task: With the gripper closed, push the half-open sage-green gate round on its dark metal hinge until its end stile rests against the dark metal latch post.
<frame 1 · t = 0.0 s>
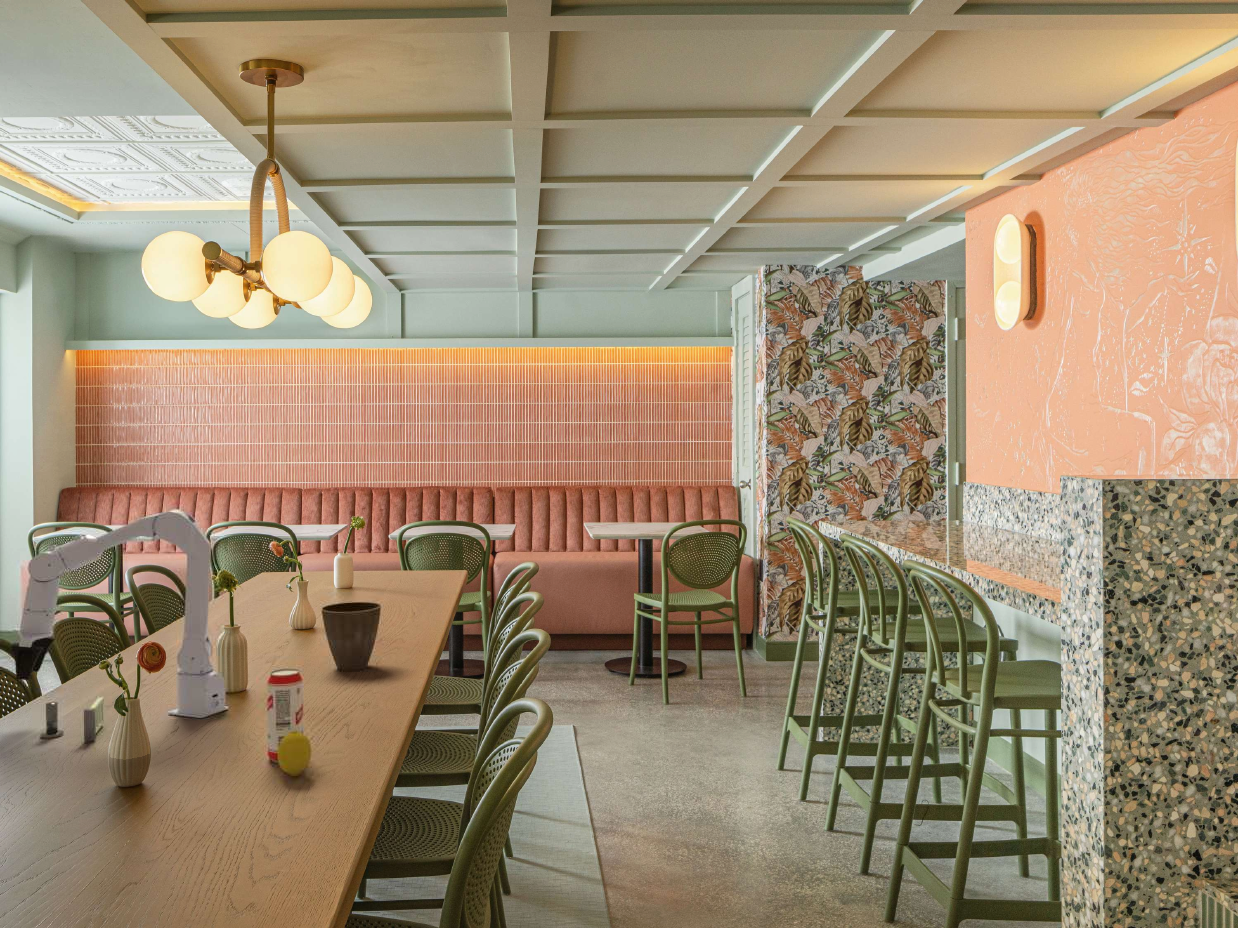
hand: (27, 674, 196), 11 cm above the table, tool pointing down, fingers open, 7 cm apart
beer can: (285, 759, 175), on the table
gate: (95, 717, 190), point 3 cm above the table, hinge at 40.0°
plant pot: (352, 668, 247), on the table
latch post: (52, 735, 189), on the table
lemon: (294, 777, 165), on the table
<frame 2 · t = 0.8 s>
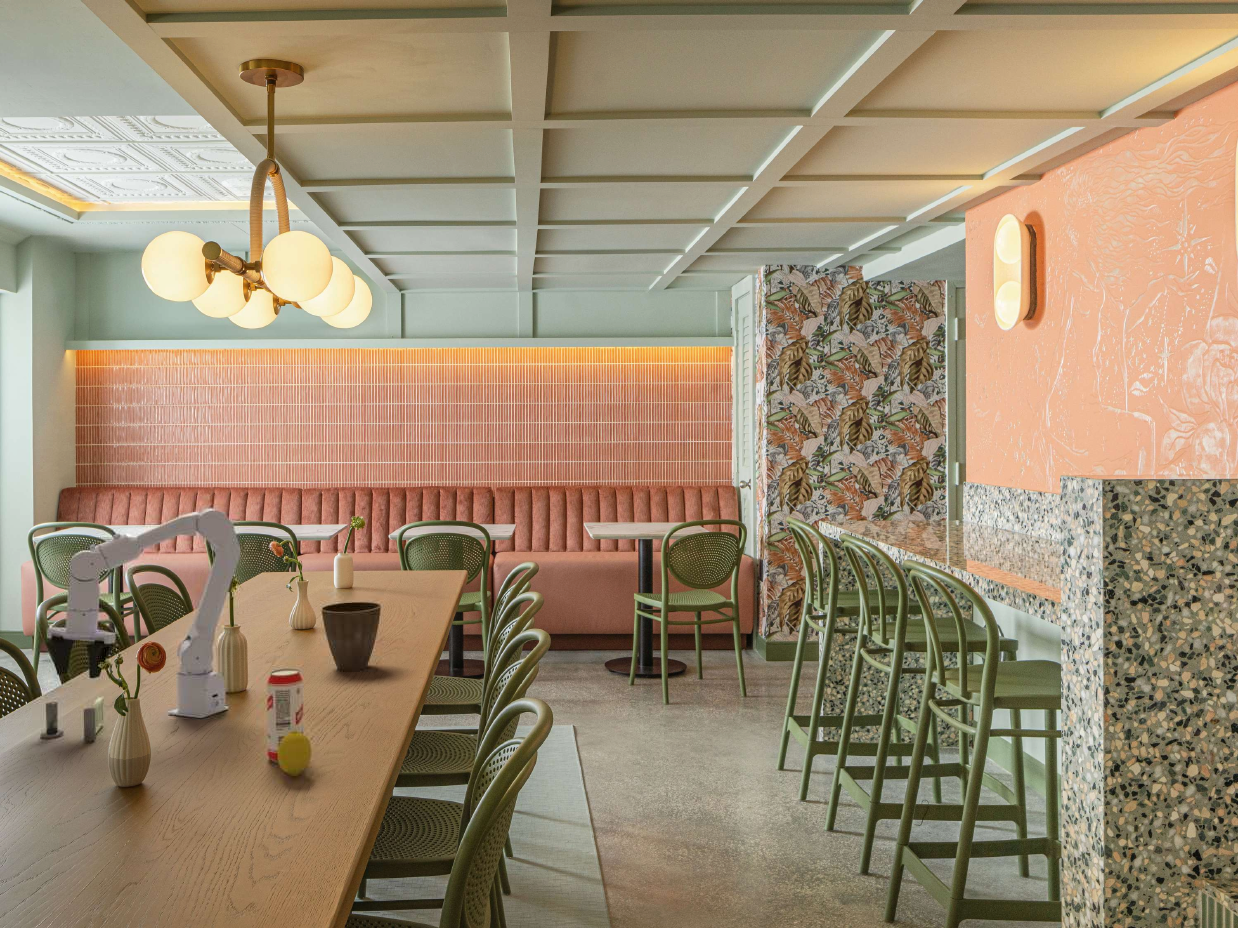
hand: (78, 675, 195), 11 cm above the table, tool pointing down, fingers open, 7 cm apart
nothing on the table moved.
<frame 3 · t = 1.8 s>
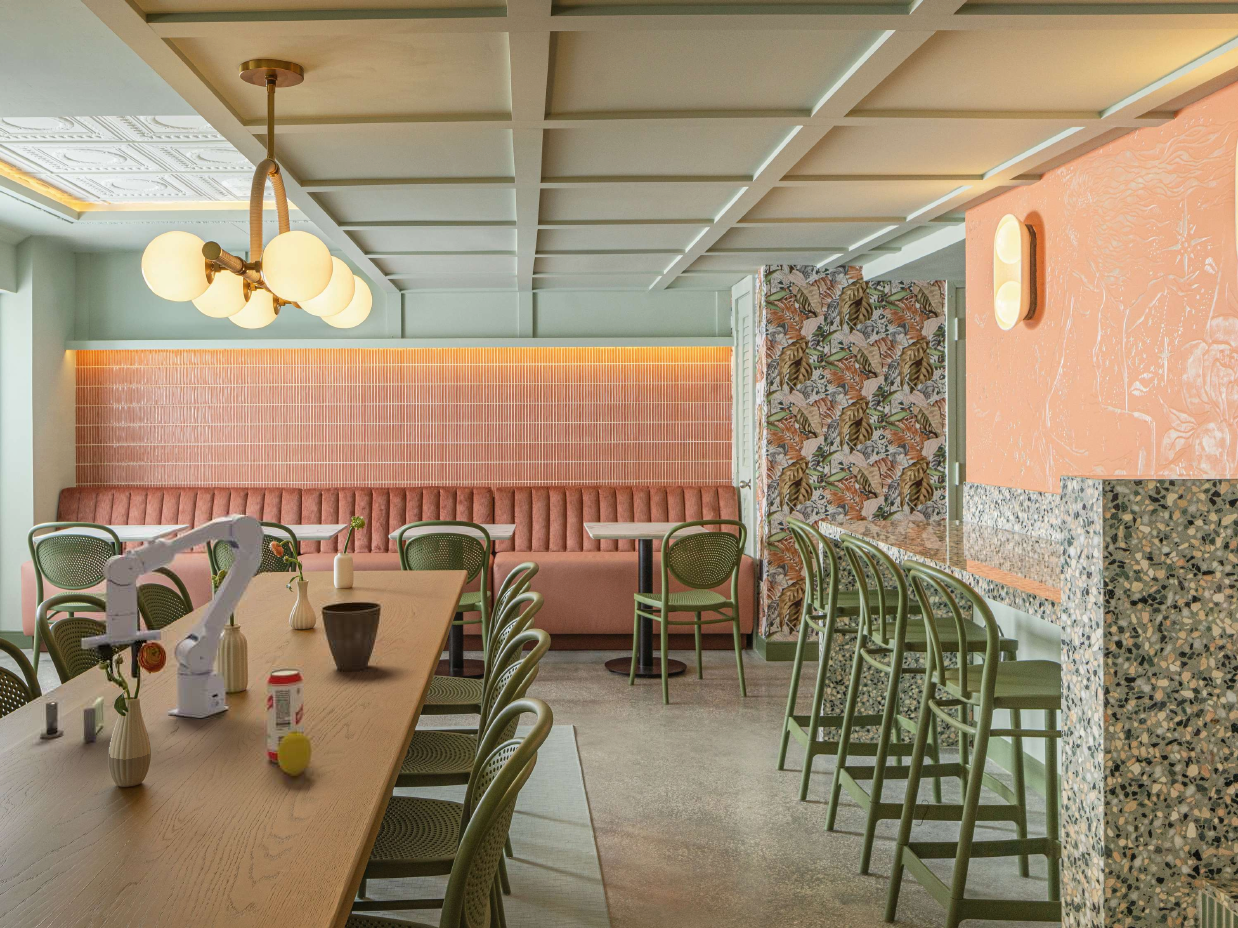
hand: (122, 678, 197), 9 cm above the table, tool pointing down, fingers open, 4 cm apart
nothing on the table moved.
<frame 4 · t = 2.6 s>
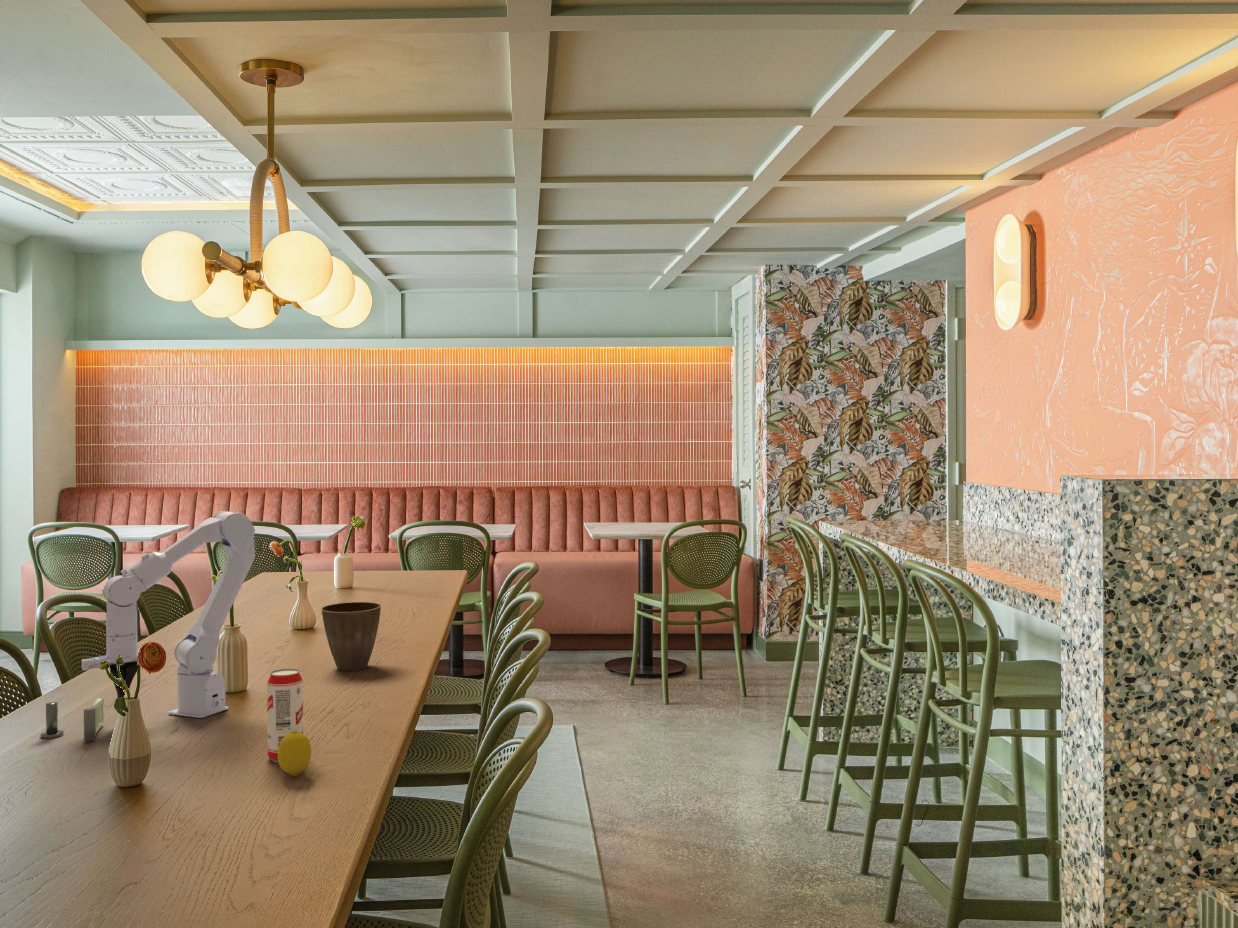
hand: (122, 699, 197), 5 cm above the table, tool pointing down, fingers closed
nothing on the table moved.
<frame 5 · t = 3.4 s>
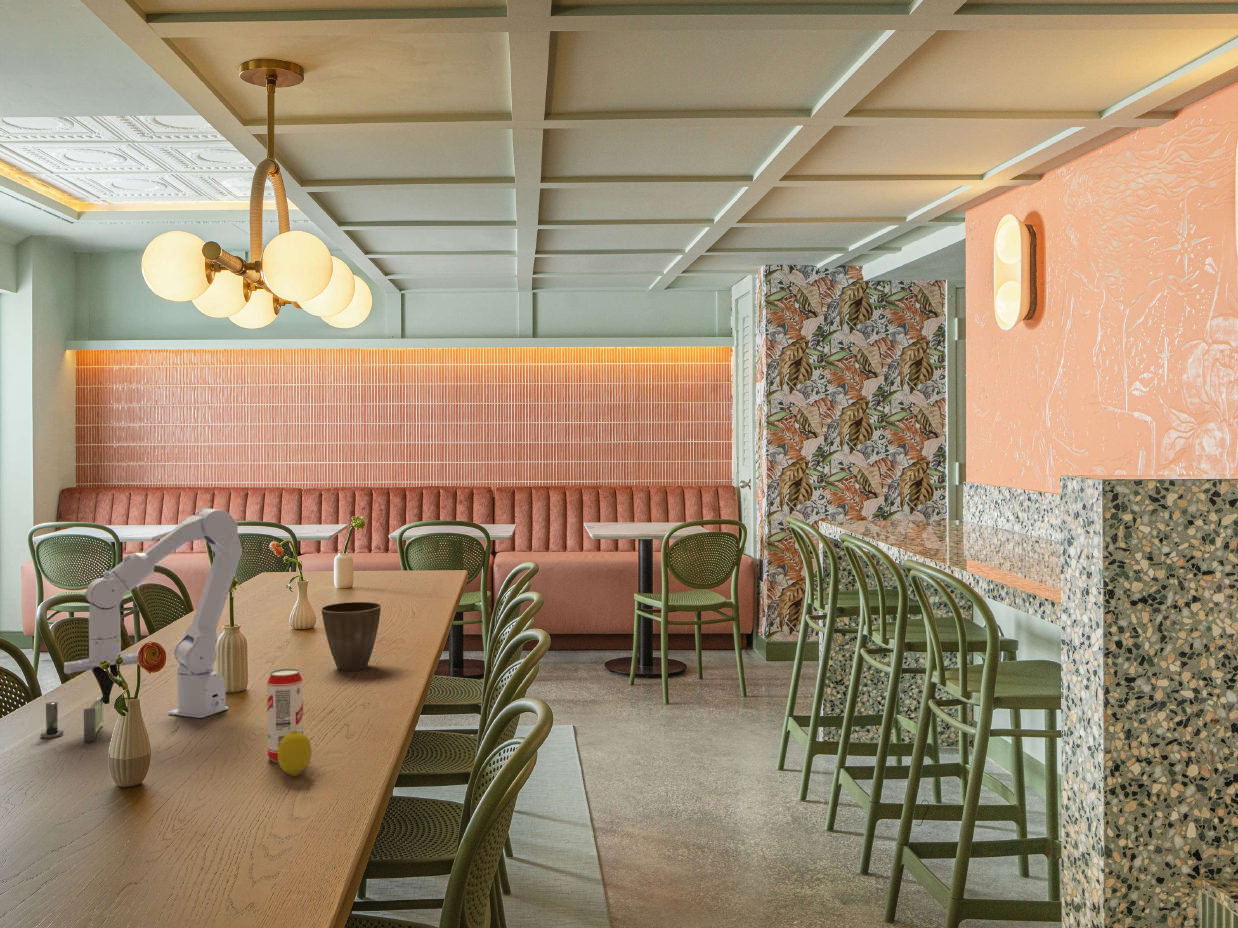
hand: (105, 702, 195), 5 cm above the table, tool pointing down, fingers closed, pressing on gate
gate: (94, 717, 190), point 3 cm above the table, hinge at 39.2°, touching gripper
everything else where it was.
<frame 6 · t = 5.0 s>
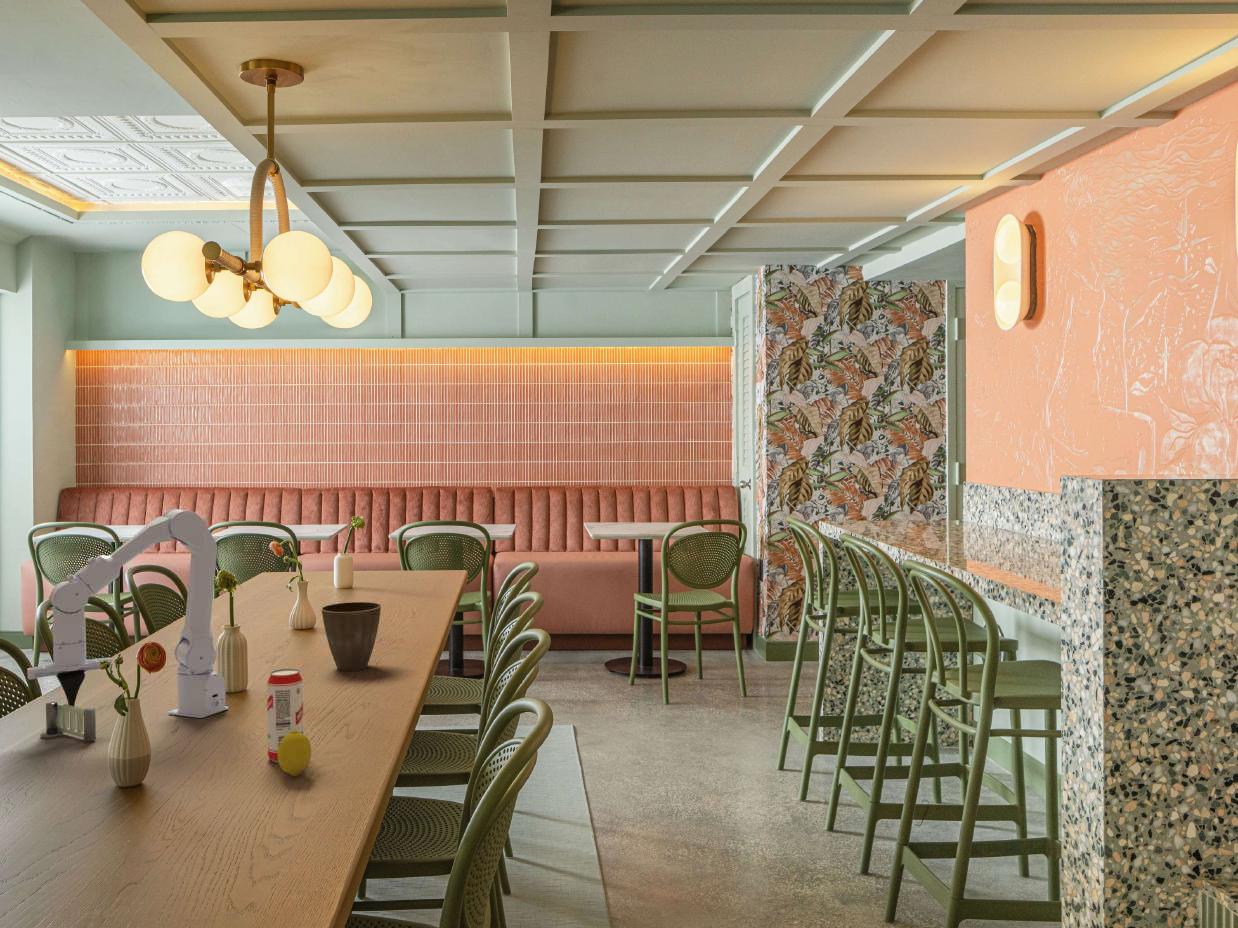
hand: (71, 708, 191), 5 cm above the table, tool pointing down, fingers closed
gate: (75, 720, 188), point 3 cm above the table, hinge at -0.1°, touching gripper
everything else where it was.
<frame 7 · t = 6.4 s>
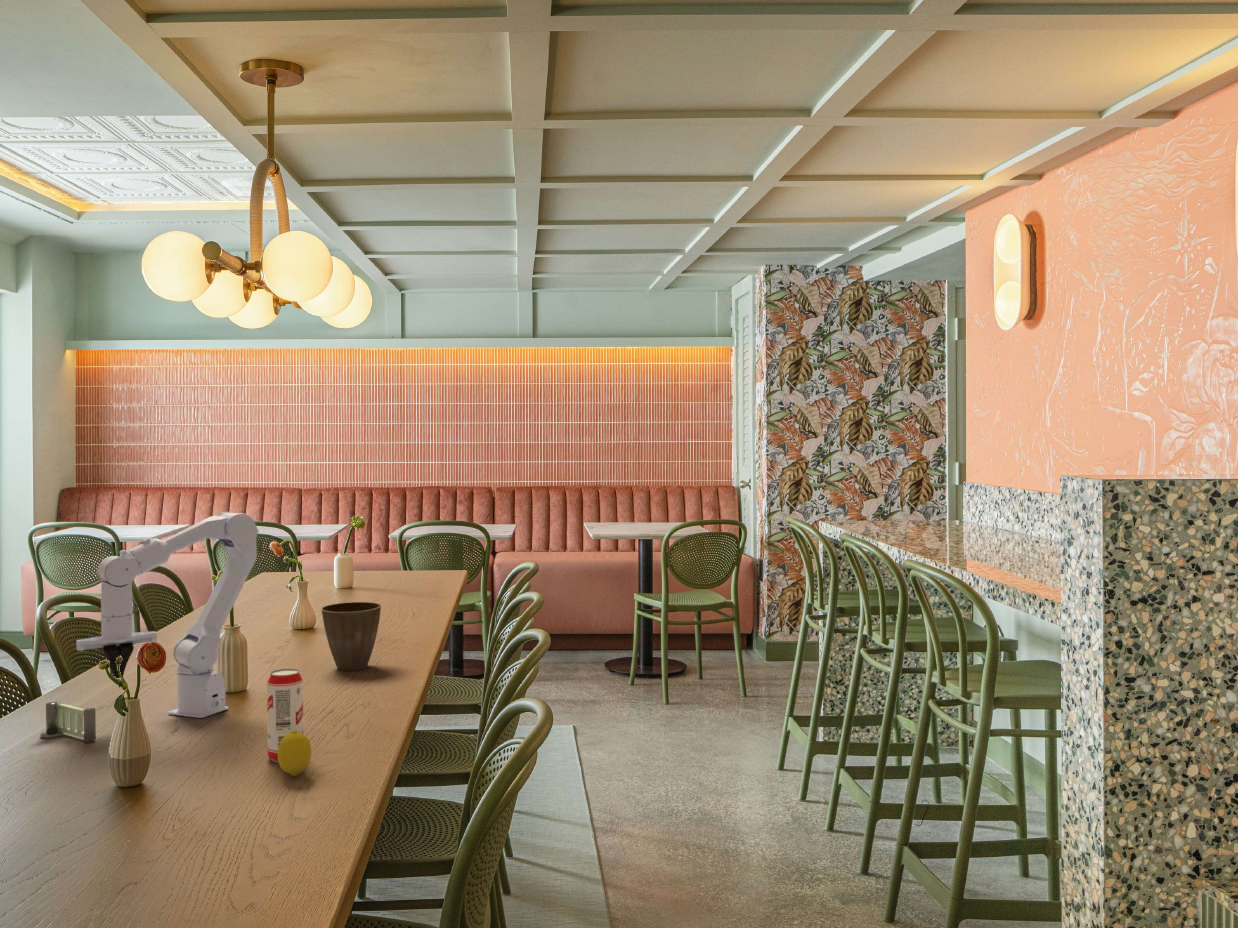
hand: (117, 680, 195), 9 cm above the table, tool pointing down, fingers closed
gate: (74, 720, 188), point 3 cm above the table, hinge at -0.2°
everything else where it was.
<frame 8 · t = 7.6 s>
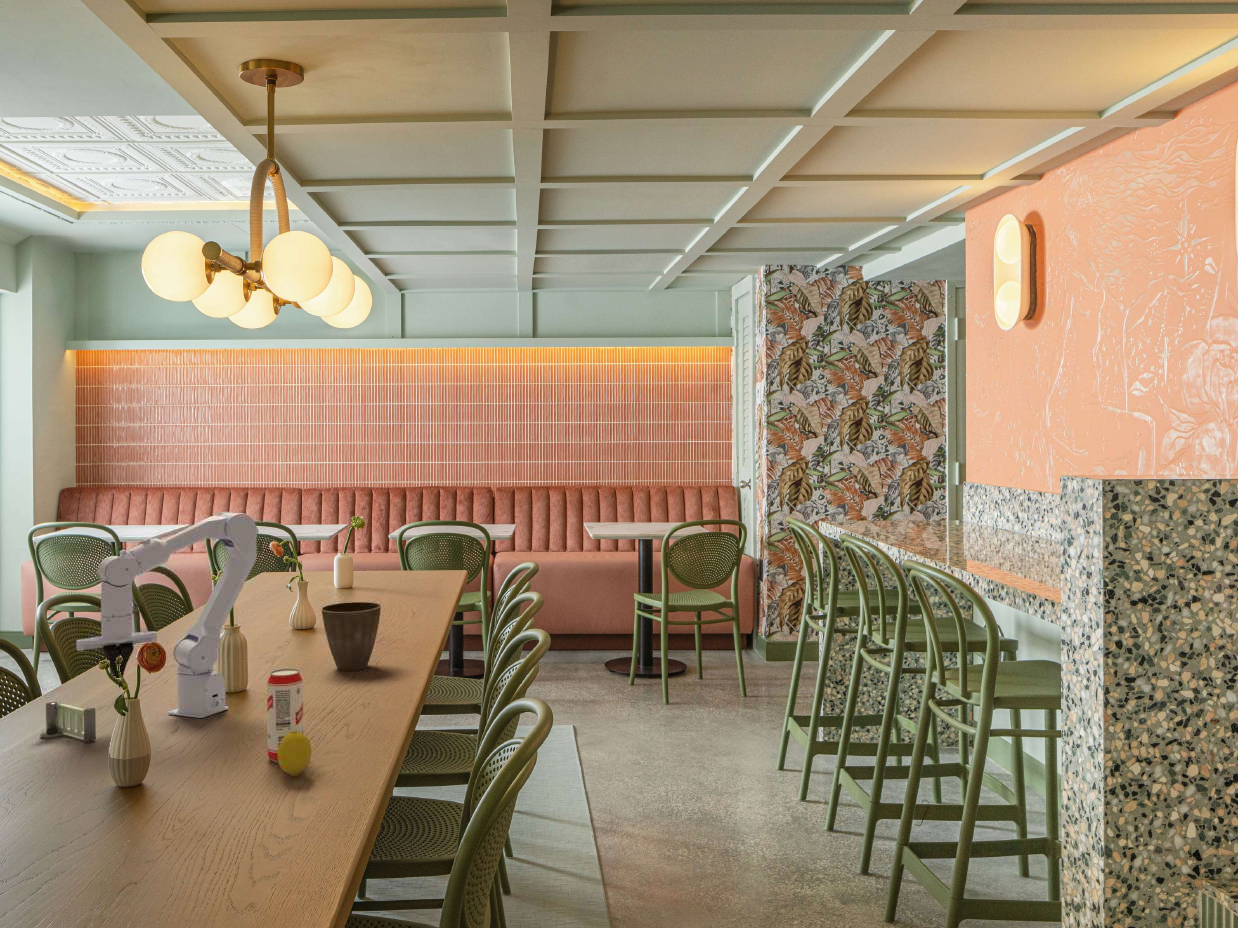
hand: (117, 680, 195), 9 cm above the table, tool pointing down, fingers closed
nothing on the table moved.
at the end: gate at +0° (first picture: +40°); beer can moved 0.2 cm from its start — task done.
